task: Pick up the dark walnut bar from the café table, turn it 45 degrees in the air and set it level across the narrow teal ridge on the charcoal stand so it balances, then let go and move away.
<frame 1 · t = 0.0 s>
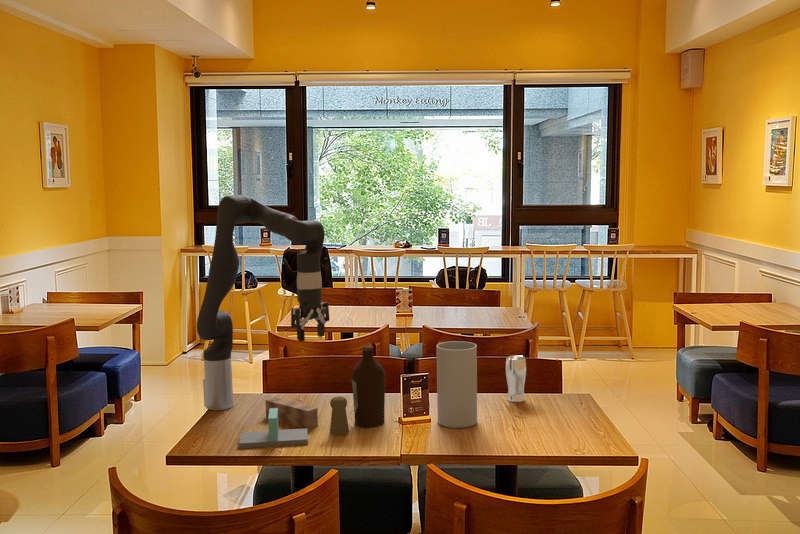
hand: (311, 338, 242), 29 cm above the table, fingers open, 8 cm apart
olive oil: (369, 423, 252), on the table
walnut bar: (291, 422, 255), on the table
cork: (339, 432, 244), on the table
cylinder vase: (457, 423, 251), on the table
beer glass: (515, 400, 274), on the table
balance stand: (274, 440, 237), on the table
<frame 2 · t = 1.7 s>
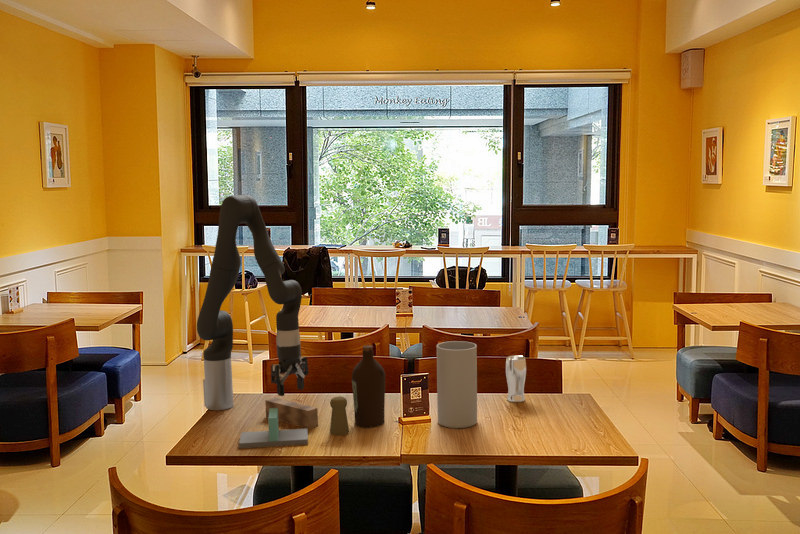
hand: (291, 392, 254), 10 cm above the table, fingers open, 8 cm apart
nothing on the table moved.
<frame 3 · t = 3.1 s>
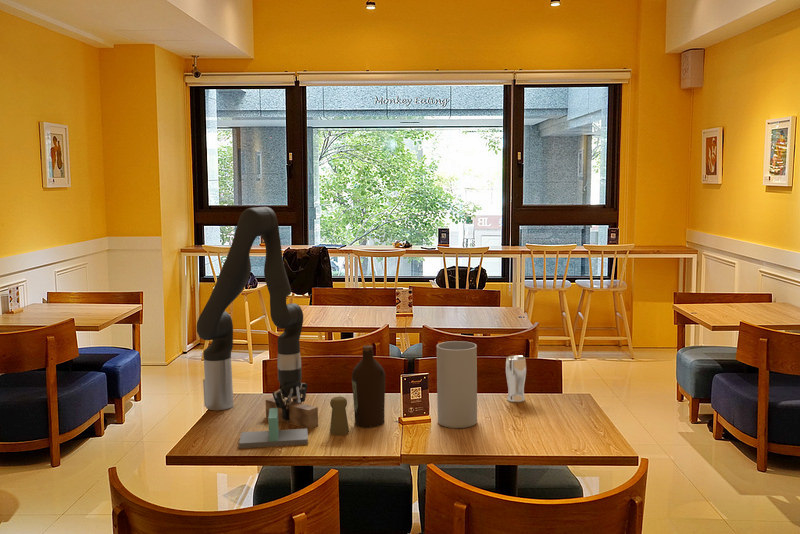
hand: (291, 417, 255), 1 cm above the table, fingers closed on walnut bar, 4 cm apart
walnut bar: (291, 421, 255), on the table, touching gripper
everything else where it was.
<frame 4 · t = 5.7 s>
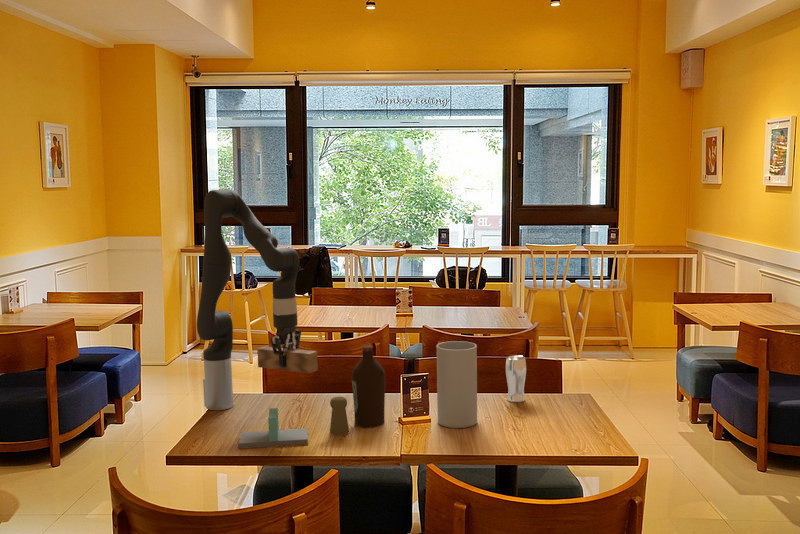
hand: (287, 364, 249), 20 cm above the table, fingers closed on walnut bar, 4 cm apart
walnut bar: (287, 368, 250), point 18 cm above the table, touching gripper
everything else where it was.
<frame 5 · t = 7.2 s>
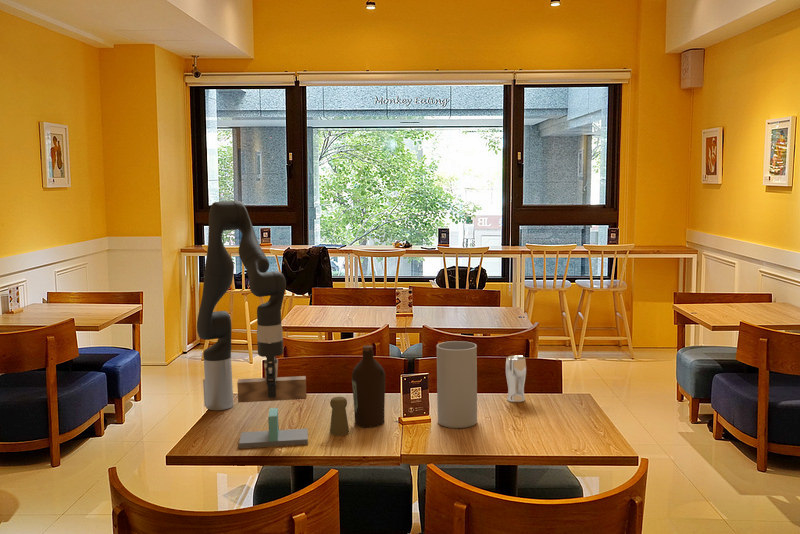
hand: (272, 395, 236), 14 cm above the table, fingers closed on walnut bar, 4 cm apart
walnut bar: (272, 398, 236), point 13 cm above the table, touching gripper
everything else where it was.
when the fingers open (10 cm above the table, at t = 8.3 s): walnut bar stays where it is, resting on balance stand.
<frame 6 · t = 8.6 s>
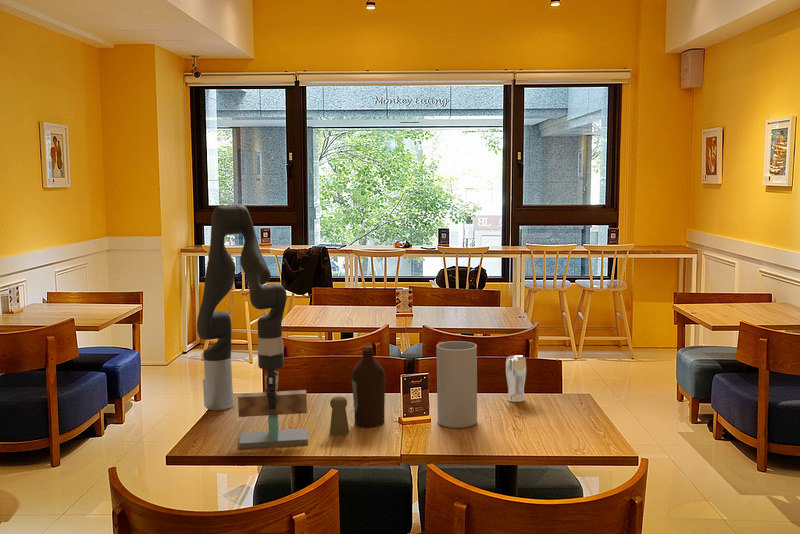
hand: (272, 405, 236), 11 cm above the table, fingers open, 6 cm apart
walnut bar: (273, 413, 236), point 8 cm above the table, touching balance stand
everything else where it was.
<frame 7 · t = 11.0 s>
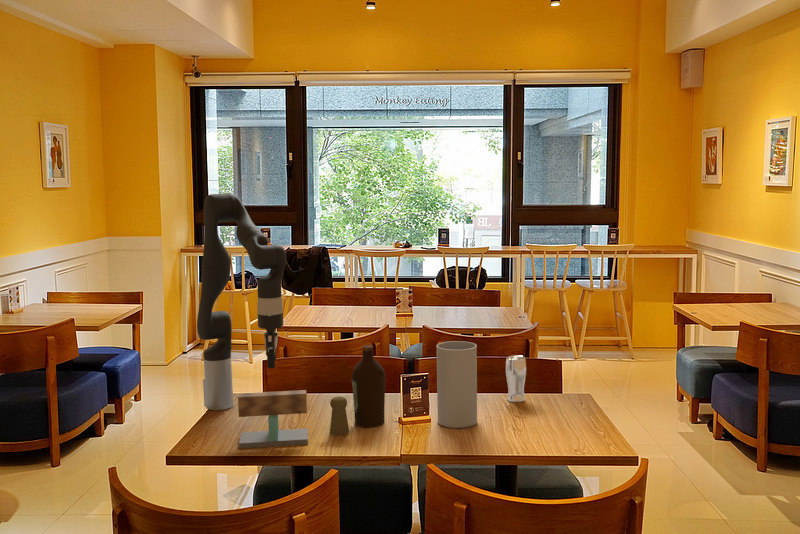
hand: (271, 364, 238), 23 cm above the table, fingers open, 8 cm apart
nothing on the table moved.
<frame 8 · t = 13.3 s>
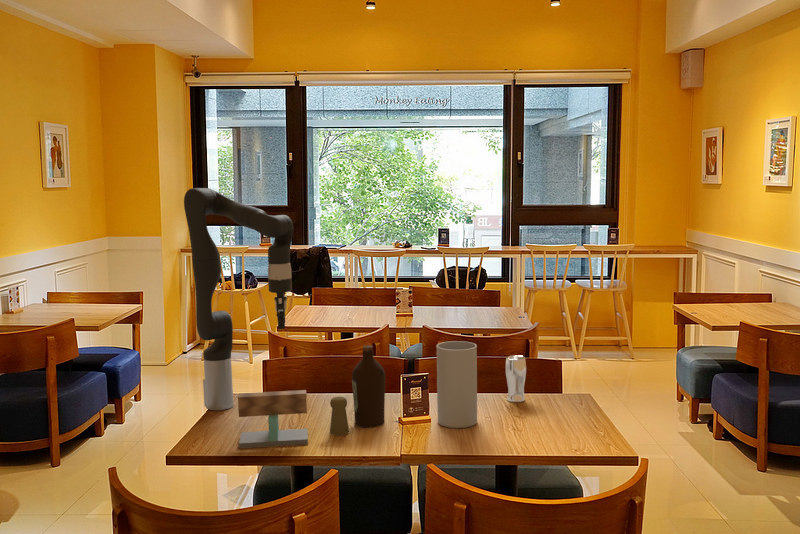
hand: (281, 326, 258), 30 cm above the table, fingers open, 8 cm apart
nothing on the table moved.
at the end: walnut bar point 8.5 cm above the table; walnut bar tilted 0°; the gripper is holding nothing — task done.
